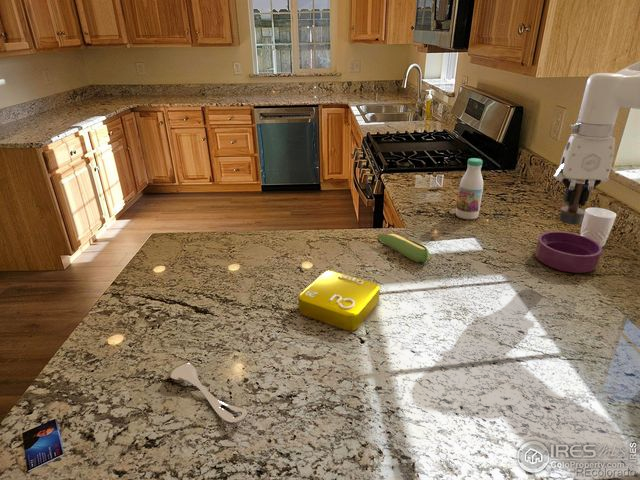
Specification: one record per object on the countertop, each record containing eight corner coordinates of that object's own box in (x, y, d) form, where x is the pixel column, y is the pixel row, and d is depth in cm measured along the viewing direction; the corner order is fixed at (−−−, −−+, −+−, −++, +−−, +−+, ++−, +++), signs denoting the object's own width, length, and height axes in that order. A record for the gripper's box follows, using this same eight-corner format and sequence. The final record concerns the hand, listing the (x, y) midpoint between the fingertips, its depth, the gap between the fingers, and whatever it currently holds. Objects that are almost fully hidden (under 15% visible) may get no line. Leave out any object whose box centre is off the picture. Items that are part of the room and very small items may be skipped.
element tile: (381, 299, 102) (383, 282, 100) (354, 333, 90) (354, 315, 88) (327, 283, 109) (327, 266, 107) (295, 312, 97) (294, 295, 95)
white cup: (580, 247, 126) (590, 216, 122) (573, 236, 133) (581, 206, 129) (610, 250, 125) (620, 218, 120) (601, 238, 131) (610, 208, 127)
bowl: (583, 249, 125) (588, 233, 122) (606, 276, 111) (612, 258, 109) (527, 246, 127) (531, 229, 124) (544, 272, 113) (549, 254, 111)
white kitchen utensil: (253, 400, 69) (231, 418, 66) (256, 416, 71) (234, 434, 67) (183, 353, 81) (161, 366, 78) (187, 368, 83) (165, 381, 79)
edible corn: (421, 268, 116) (422, 253, 114) (372, 241, 130) (373, 228, 128) (434, 262, 118) (435, 248, 116) (384, 237, 133) (385, 224, 131)
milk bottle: (458, 209, 153) (466, 155, 145) (480, 214, 150) (490, 158, 141) (452, 217, 147) (460, 160, 139) (475, 221, 144) (485, 164, 135)
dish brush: (576, 217, 111) (586, 179, 107) (585, 225, 106) (596, 186, 102) (554, 216, 112) (564, 179, 107) (562, 224, 107) (572, 185, 103)
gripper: (563, 132, 97) (545, 208, 105) (639, 134, 95) (615, 210, 103) (551, 126, 103) (536, 197, 112) (623, 127, 101) (601, 199, 109)
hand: (574, 203), depth 107 cm, fingers closed on dish brush
